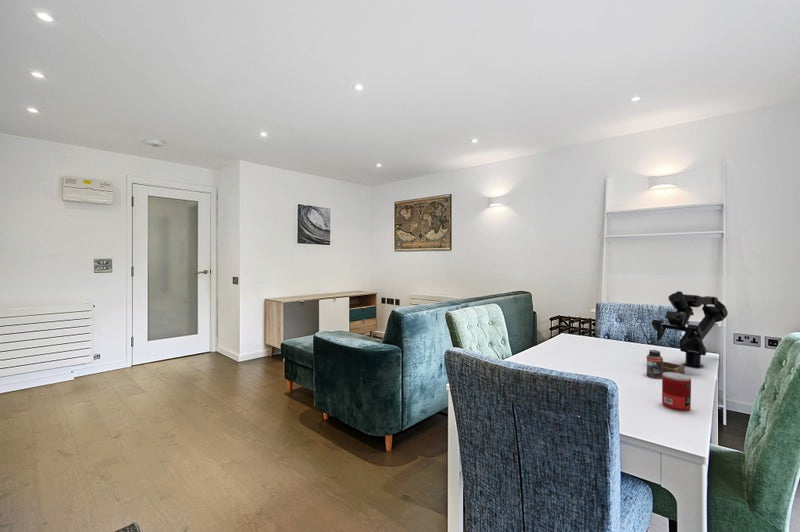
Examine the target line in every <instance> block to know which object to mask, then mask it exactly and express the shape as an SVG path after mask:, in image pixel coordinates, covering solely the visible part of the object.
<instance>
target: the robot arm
mask: <svg viewBox="0 0 800 532" xmlns="http://www.w3.org/2000/svg"><path fill="white" fill-rule="evenodd" d="M667 298H668V301H669V302H670V304H671V306H672V307H673V309H674V310H675V311H671V310H666V312H665V317H664V318H665V319H667V323H664V321H663V320H661V319H652V321H651V323H650V325H652V328H653V329H654V331H656V340H657V342H659V341H660V340H661V339H662V337H664V336H665V335H664V334H665V332H666V330H667V329H668V330H675V331H677V332H678V331H679V332H684V334H683V335H682V336H681V338H680V339H679V342H678V343H679V349H680V352H684V353H685V360H684V362H683V363H682V365H683V366H687V367H691V368H696V369H700V368H702V367H704V364H701V362H702V361H701V360H702V359H701V358H702V356H706V355H707V349H706V347H705V345H704V342H703V340H704V339H705V337H706V336H707V335H708V333H709V332H710V331H711V330H712V328H713V327H714V326H715V324H716V323H720V322H723V320H725V319H726V318H727V317H728V313H729V312H728V310H727V307H726V305H725V304H723V303H722V302H721V301H719V298H718V297H716V296H709V295H708V296H707V295H705V296H700V295H696V294H683V291H678V290H677V291H676V292H674V293H671V294H670V295H669V296H668V297H667ZM702 305H703V306H702ZM699 307H700V308H701V307H702V311H703V314H704V317H703V318H702V319H701V320H700V322H699V323H698V324H689V323H690V322H689V320H690V318H691V316H694V311H693V308H699ZM668 323H669V324H668Z"/></svg>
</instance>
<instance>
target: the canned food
mask: <svg viewBox="0 0 800 532" xmlns="http://www.w3.org/2000/svg"><path fill="white" fill-rule="evenodd" d="M661 380H662V381H661V382H662V383H661V392H662V393H661V402H662V405H663V406H664V407H666V408H668V409H670V410H673V411H681V412H687V411H689V410H690V409H691V404H692V378H691V376H689V375H687V374H680V373H674V372H665V373H663V375H662V378H661Z"/></svg>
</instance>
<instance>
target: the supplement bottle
mask: <svg viewBox="0 0 800 532" xmlns="http://www.w3.org/2000/svg"><path fill="white" fill-rule="evenodd" d="M648 351H649V352H648V353H649V354H647V355H646V376H647V377H649V378H651V377H652V378H653V379H662V375H663V362H664V358H663V356H661V351H659V350H656V349H650V350H648Z"/></svg>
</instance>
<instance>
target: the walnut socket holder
mask: <svg viewBox="0 0 800 532" xmlns="http://www.w3.org/2000/svg"><path fill="white" fill-rule="evenodd" d="M685 371H686V370H685V365H683V364H682V365H681V364H678V363H671V362H667V361H663V373H665V372H674V373H680V374H684V375H686V374H685V373H686V372H685Z"/></svg>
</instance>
